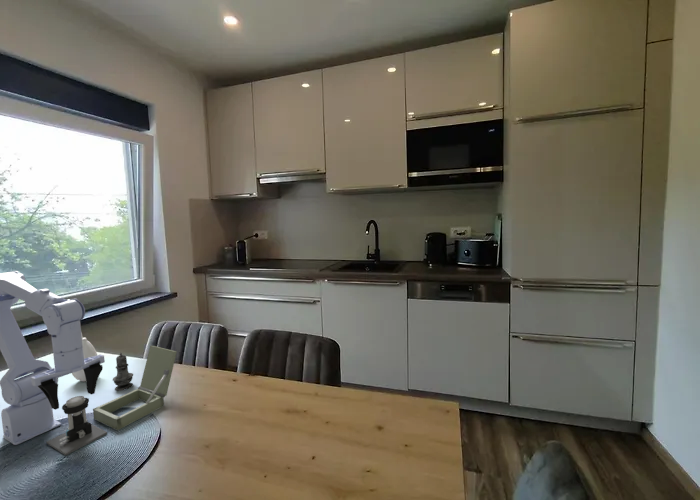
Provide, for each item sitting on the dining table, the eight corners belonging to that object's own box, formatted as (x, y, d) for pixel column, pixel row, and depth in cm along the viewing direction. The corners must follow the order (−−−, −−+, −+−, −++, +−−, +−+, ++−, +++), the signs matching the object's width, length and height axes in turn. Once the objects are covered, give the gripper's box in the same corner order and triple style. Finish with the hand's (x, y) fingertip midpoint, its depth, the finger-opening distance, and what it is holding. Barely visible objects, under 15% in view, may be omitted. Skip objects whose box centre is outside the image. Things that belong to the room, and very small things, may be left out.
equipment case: (117, 430, 89) (112, 375, 87) (93, 419, 94) (88, 367, 93) (180, 397, 105) (176, 350, 104) (157, 389, 111) (153, 344, 109)
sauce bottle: (76, 378, 120) (70, 329, 119) (102, 373, 124) (97, 326, 122) (68, 387, 113) (63, 336, 112) (96, 382, 117) (91, 332, 115)
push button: (65, 449, 81) (61, 410, 80) (55, 443, 84) (50, 405, 83) (96, 433, 87) (92, 396, 86) (85, 427, 90) (81, 392, 89)
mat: (65, 455, 80) (65, 453, 80) (46, 443, 84) (46, 441, 84) (107, 433, 88) (107, 431, 88) (87, 423, 92) (87, 422, 92)
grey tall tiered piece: (126, 391, 110) (123, 356, 109) (109, 391, 110) (105, 356, 109) (138, 382, 116) (135, 349, 115) (121, 382, 116) (118, 349, 115)
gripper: (38, 362, 75) (45, 419, 77) (108, 341, 88) (113, 390, 89) (24, 357, 79) (31, 412, 80) (94, 337, 91) (99, 385, 93)
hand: (73, 400), depth 85 cm, fingers open, 7 cm apart
